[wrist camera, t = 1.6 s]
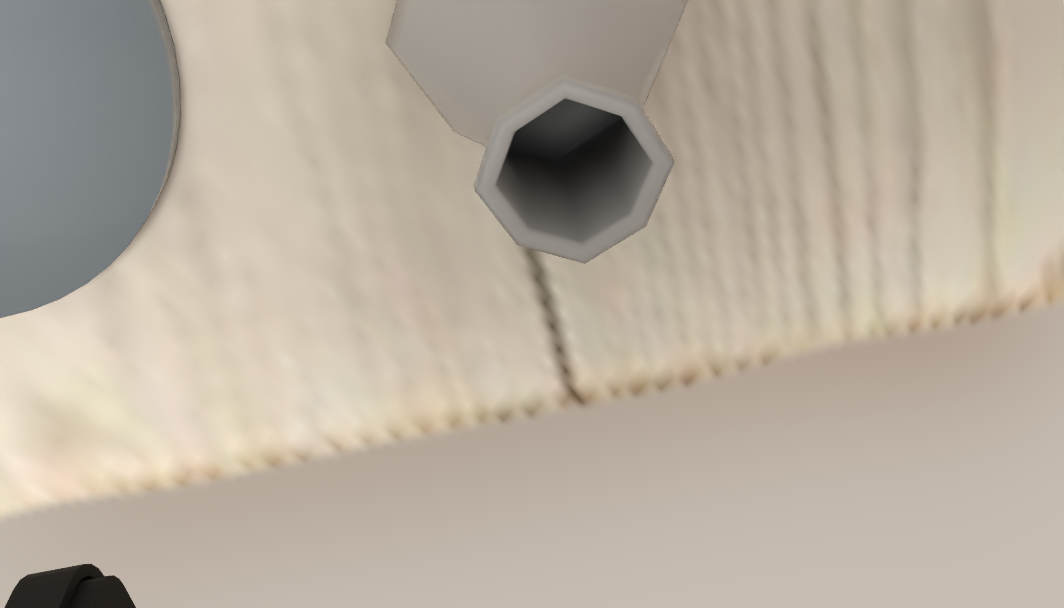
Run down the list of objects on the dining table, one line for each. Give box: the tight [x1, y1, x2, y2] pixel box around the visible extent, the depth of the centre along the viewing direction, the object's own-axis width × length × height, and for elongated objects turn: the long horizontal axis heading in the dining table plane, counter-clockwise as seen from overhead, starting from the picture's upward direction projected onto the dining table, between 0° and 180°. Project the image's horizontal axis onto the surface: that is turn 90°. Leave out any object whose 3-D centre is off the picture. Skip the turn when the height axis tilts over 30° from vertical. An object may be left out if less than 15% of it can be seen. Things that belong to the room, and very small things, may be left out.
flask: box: [386, 0, 687, 263], centre depth 21 cm, size 7×7×10 cm
